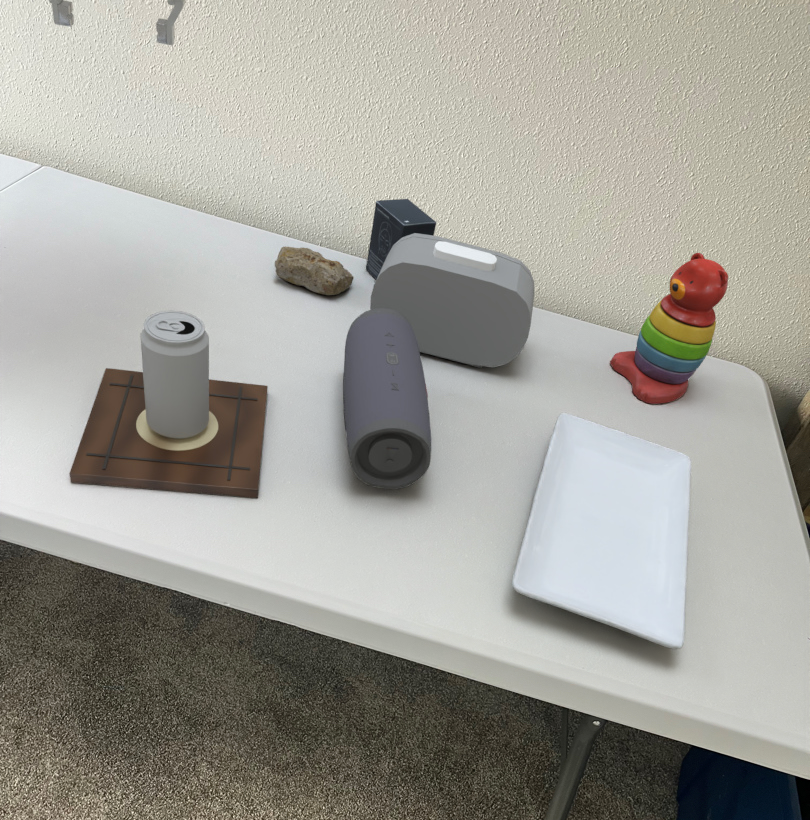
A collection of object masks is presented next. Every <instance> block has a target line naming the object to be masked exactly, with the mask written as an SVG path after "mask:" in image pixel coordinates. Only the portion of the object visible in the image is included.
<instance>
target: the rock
mask: <svg viewBox="0 0 810 820" xmlns="http://www.w3.org/2000/svg"><path fill="white" fill-rule="evenodd" d="M274 267H275V274H276V276H277V277H279V278H280V279H282V280H283V281H285V282H288V283H290V284H293V285H295V286H302V287H305V288H306V289H307V290H309V291H311V292H313V293H316V294H319V295H325V296H335V295H339V294H341V293H343V292H345V291H346V290H347V289H348V288H350V287H351V285H352V284H353V281H354V276H353V274H352V273H350V271H349V270H348V269H346V268H345V267H344V265H343V264H342V263H341V262H340V261H338V260H331V259H329V258H325V257H324V256H323V254H321V252H319V251H314V250H313V249H311V248H308V247H293V246H285V245H284V246H282V247H281V248H280V250H279V251H278V254H277V258H276V260H275V261H274Z"/></svg>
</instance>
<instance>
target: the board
mask: <svg viewBox="0 0 810 820" xmlns="http://www.w3.org/2000/svg"><path fill="white" fill-rule="evenodd" d="M268 387H269V386H268V385H265V384H254V383H246V382H238V381H227V380H219V379H210V378H209V423H208V425H207V427H206V428H205V429H204V430H203V431H202V432H200V433H199V434H197V435H195V436H193V437H189V438H185V439H174V438H168V437H165V436H163V435H160V434H158V433H156V432H155V431H153V430H152V429H151V428H150V427H149V425H148V423H147V420H146V408H145V394H144V380H143V371H136V370H128V369H117V368H109V367H106V368H105V370H104V372H103V375H102V378H101V381H100V384H99V387H98V388H97V389H98V390H97V392H96V395H95V399H94V401H93V404H92V407H91V410H90V412H89V416H88V419H87V421H86V424H85V427H84V429H83V430H84V431H83V433H82V436H81V438H80V442H79V445H78V447H77V450H76V453H75V456H74V459H73V462H72V465H71V468H70V471H69V473H68V474H69V480H70V483H73V484H86V485H96V486H97V485H98V486H109V487H120V488H121V487H122V488H131V489H132V488H133V489H144V490H157V491H166V492H167V491H168V492H179V493H180V492H181V493H190V494H204V495H214V496H215V495H216V496H227V497H236V498H237V497H239V498H251V499H258V497H259V489H260V479H261V478H260V477H261V467H262V466H261V465H262V455H263V445H264V444H263V443H264V434H265V422H266V414H267V413H266V412H267V411H266V410H267V401H268V389H269V388H268Z"/></svg>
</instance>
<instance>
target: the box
mask: <svg viewBox="0 0 810 820" xmlns="http://www.w3.org/2000/svg"><path fill="white" fill-rule="evenodd" d="M372 219H373V220H372V227H371V234H370V240H369V245H368V246H369V247H368V253H367V260H366V265H365V270H366V271H367V272H368V273H369V274H370V275H371V276H372V277H373V278H375V280H377V277H378V275H379V273H380V271H381V269H382V266H383V264H384V262H385V260H386V257H387V255H388V254H389V252H390V250H391V248H392V246H393V245H394V244H395V243H396V242H397V241H399V240H400V239H401V238H402V237H405V236H408V235H411V234H414V233H418V234H425V235H433V236H435V232H436V227H437V221H436V220H435V219H433V218H432V217H431V216H430V215H428V214H427V213H426V212H424V210H422V209H421V208H420V207H419V206H417V205H416V204H415V203H413V202H412V201H411V200H410V199H409V198H399V199H398V198H397V199H386V200H385V199H381V200H376V201H375V206H374V212H373V218H372Z"/></svg>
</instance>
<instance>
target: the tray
mask: <svg viewBox="0 0 810 820" xmlns="http://www.w3.org/2000/svg"><path fill="white" fill-rule="evenodd" d="M548 445H549V446H548V447H547V451H546V455H545V458H544V460H543V461H544V462H543V464H542V467H541V468H542V469H541V472H540V474H539V477H538V482H537V485H536V488H535V489H536V490H535V493H534V496H533V500H532V504H531V508H530V511H529V516H528V519H527V522H526V527H525V530H524V535H523V539H522V542H521V546H520V549H519V552H518V556H517V559H516V563H515V566H514V570H513V575H512V579H511V588H512V589H513V590H514V591H515V592H517V593H518V594H520V595H523V596H524V597H528V598H530V599H533V600H536V601H538V602H542V603H544V604H548V605H550V606H553V607H556V608H559V609H562V610H565V611H567V612H570V613H573V614H577V615H579V616H581V617H584V618H588V619H590V620H592V621H595V622H599V623H601V624H604V625H606V626H610V627H611V628H612V627H613V628H615V629H618V630H620V631H622V632H626V633H629V634H631V635H634V636H636V637H639V638H641V639H643V640H647V641H649V642H652V643H653V644H657V645H660V646H662V647H665V648H668V649H672V650H680V649H681V648H683V646H684V643H685V636H686V635H685V633H686V599H687V598H686V597H687V595H686V594H687V576H688V575H687V574H688V573H687V572H688V549H689V546H688V545H689V525H690V524H689V523H690V521H689V520H690V519H689V518H690V517H689V516H690V499H691V498H690V497H691V496H690V495H691V478H692V477H691V476H692V460H691V458H690V456H688V455H687V454H685V453H684V452H682V451H679V450H676V449H673V448H670V447H668V446H664V445H661V444H658V443H656V442H653V441H649V440H647V439H644V438H641V437H638V436H636V435H632V434H629V433H627V432H623V431H621V430H618V429H615V428H612V427H609V426H606V425H602V424H600V423H598V422H594V421H591V420H589V419H586V418H583V417H580V416H578V415H574V414H570V413H568V412H561V413H560V414H559V415H558V417H557V419H556V421H555V424H554V427H553V432H552V435H551V437H550V441H549V444H548Z"/></svg>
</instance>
